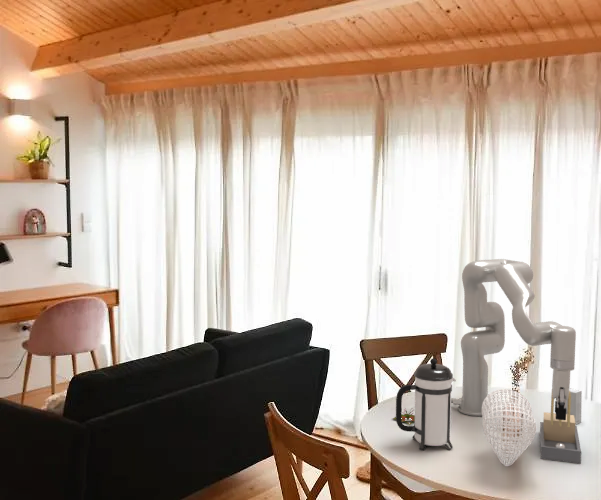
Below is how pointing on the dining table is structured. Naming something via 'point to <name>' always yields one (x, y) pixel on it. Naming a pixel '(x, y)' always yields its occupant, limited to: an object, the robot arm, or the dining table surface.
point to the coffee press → (429, 405)
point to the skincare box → (575, 404)
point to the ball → (560, 445)
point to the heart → (530, 425)
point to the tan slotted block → (567, 410)
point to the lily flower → (407, 417)
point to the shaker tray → (560, 452)
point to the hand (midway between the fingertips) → (560, 415)
